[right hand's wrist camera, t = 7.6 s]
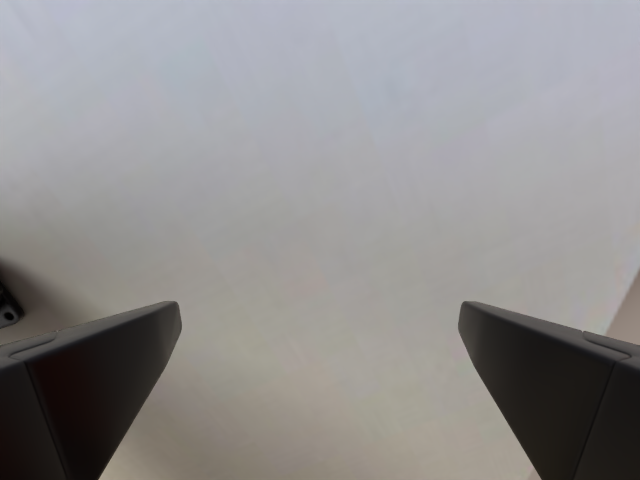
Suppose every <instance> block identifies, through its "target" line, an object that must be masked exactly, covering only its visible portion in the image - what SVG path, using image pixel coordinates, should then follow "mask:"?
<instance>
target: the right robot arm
mask: <svg viewBox="0 0 640 480" xmlns="http://www.w3.org/2000/svg"><path fill="white" fill-rule="evenodd" d="M12 314H13V315H12ZM23 317H24V312H23V310H22V309H21V307H20V306H19V305H18V303H17V302H16V301H15V299H14V298H13V297H12V296H11V294H10V293H9V292H8V290H7V289H6V288H5V286H4V285H3V284H2V282H1V281H0V329H1V328H4V327H7V326H9V325H12V324H15V323H17V322H18V321H19V320H21V319H22V318H23ZM181 329H182V322H181V316H180V310H179V305H178V303H177V302H175V301H165V302H160V303H157V304H153V305H150V306H146V307H142V308H139V309H135V310H131V311H128V312H124V313H120V314H117V315H113V316H110V317H106V318H102V319H99V320H95V321H91V322H88V323H84V324H80V325H77V326H73V327H70V328H66V329H62V330H59V331H58V332H57V331H53V332H50V333H46V334H42V335H38V336H35V337H31V338H27V339H23V340H19V341H16V342H12V343H8V344H4V345H0V480H98V479H99V478H100V476H101V474H102V473H103V471H104V469H105V468H106V466H107V464H108V463H109V461H110V459H111V458H112V456H113V454H114V453H115V451H116V449H117V448H118V446H119V444H120V443H121V441H122V439H123V438H124V436H125V434H126V433H127V431H128V429H129V427H130V426H131V424H132V422H133V421H134V419H135V417H136V416H137V414H138V412H139V411H140V409H141V407H142V406H143V404H144V402H145V401H146V399H147V397H148V396H149V394H150V392H151V391H152V389H153V387H154V386H155V384H156V382H157V381H158V379H159V377H160V376H161V374H162V372H163V370H164V369H165V367H166V365H167V363H168V361H169V358H170V356H171V354H172V352H173V349H174V347H175V345H176V342H177V340H178V338H179V335H180V333H181ZM458 329H459V333H460V335H461V338H462V340H463V342H464V345H465V347H466V349H467V352H468V354H469V356H470V358H471V361H472V363H473V365H474V367H475V369H476V370H477V372H478V374H479V376H480V377H481V379H482V381H483V382H484V384H485V386H486V387H487V389H488V391H489V392H490V394H491V396H492V397H493V399H494V401H495V402H496V404H497V406H498V407H499V409H500V411H501V412H502V414H503V416H504V417H505V419H506V421H507V422H508V424H509V426H510V427H511V429H512V431H513V433H514V434H515V436H516V438H517V439H518V441H519V443H520V444H521V446H522V448H523V449H524V451H525V453H526V454H527V456H528V458H529V459H530V461H531V463H532V464H533V466H534V468H535V469H536V471H537V473H538V474H539V476H540V478H541V479H542V480H640V345H636V344H632V343H628V342H624V341H621V340H617V339H613V338H609V337H605V336H602V335H598V334H594V333H590V332H587V331H583V332H582V331H581V330H578V329H574V328H570V327H567V326H563V325H560V324H556V323H552V322H549V321H545V320H541V319H538V318H534V317H530V316H527V315H523V314H520V313H516V312H512V311H509V310H505V309H501V308H498V307H494V306H490V305H487V304H483V303H480V302H475V301H465V302H463V303H462V305H461V310H460V316H459V322H458Z"/></svg>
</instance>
